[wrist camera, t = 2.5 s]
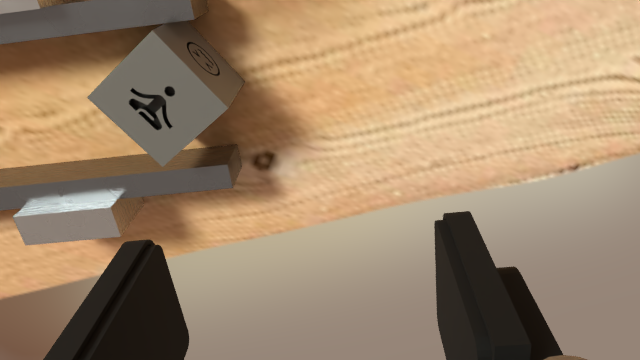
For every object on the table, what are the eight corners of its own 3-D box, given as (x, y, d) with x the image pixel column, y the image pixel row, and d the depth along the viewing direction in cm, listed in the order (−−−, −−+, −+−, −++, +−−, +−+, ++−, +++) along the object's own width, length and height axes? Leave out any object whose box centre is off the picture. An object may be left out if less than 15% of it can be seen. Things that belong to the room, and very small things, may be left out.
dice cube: (125, 72, 30) (87, 97, 25) (181, 14, 28) (152, 30, 24) (188, 132, 31) (162, 166, 27) (245, 81, 30) (228, 108, 25)
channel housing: (193, -59, 26) (170, -58, 23) (247, 193, 33) (236, 226, 29) (-156, -10, 28) (-229, -1, 24) (-38, 221, 35) (-82, 255, 31)
